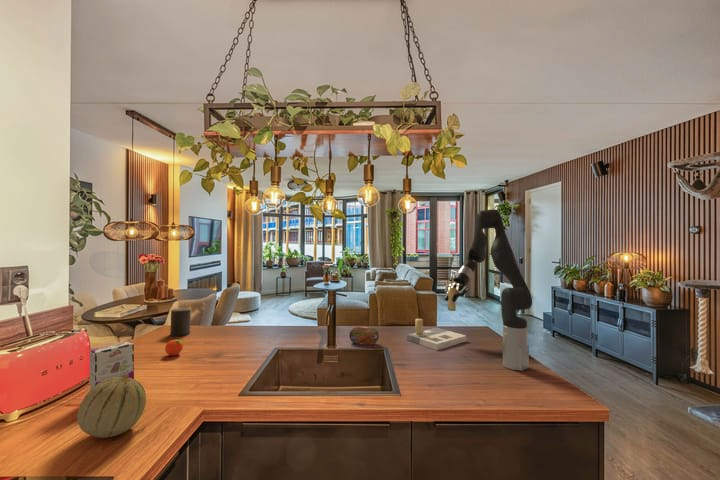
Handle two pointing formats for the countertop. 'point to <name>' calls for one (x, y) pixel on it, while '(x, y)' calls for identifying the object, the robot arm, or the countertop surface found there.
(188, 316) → the pillar candle
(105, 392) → the cantaloupe
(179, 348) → the red tomato
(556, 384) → the countertop surface
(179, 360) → the countertop surface
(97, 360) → the candy bar box
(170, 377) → the countertop surface
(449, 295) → the brass pin
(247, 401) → the countertop surface
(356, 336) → the tin
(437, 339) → the pegboard
